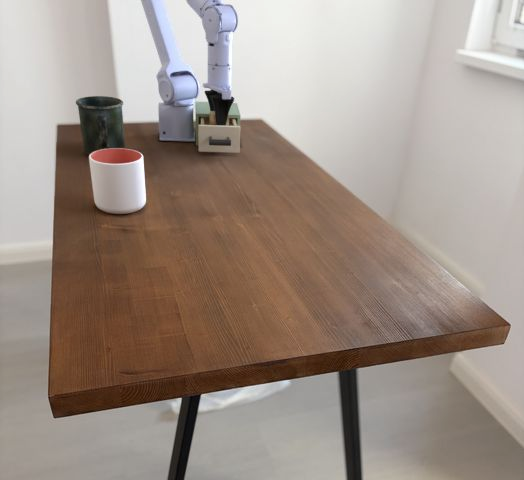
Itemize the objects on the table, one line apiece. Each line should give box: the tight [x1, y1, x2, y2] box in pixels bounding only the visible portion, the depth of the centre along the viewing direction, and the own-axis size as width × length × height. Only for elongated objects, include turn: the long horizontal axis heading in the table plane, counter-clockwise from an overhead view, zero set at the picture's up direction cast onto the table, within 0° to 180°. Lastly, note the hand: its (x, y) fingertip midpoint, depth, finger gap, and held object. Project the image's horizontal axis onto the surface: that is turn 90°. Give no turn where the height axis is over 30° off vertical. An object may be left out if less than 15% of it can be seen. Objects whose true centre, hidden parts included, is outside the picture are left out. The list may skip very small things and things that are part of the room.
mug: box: [75, 95, 126, 157], centre depth 131 cm, size 11×15×12 cm
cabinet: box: [194, 100, 241, 147], centre depth 150 cm, size 14×12×8 cm
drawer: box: [198, 117, 241, 154], centre depth 141 cm, size 17×10×6 cm, turn 6°
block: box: [210, 111, 229, 126], centre depth 139 cm, size 4×4×4 cm
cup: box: [88, 148, 147, 215], centre depth 107 cm, size 10×10×10 cm
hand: (218, 123), depth 139 cm, fingers closed on block, 4 cm apart
